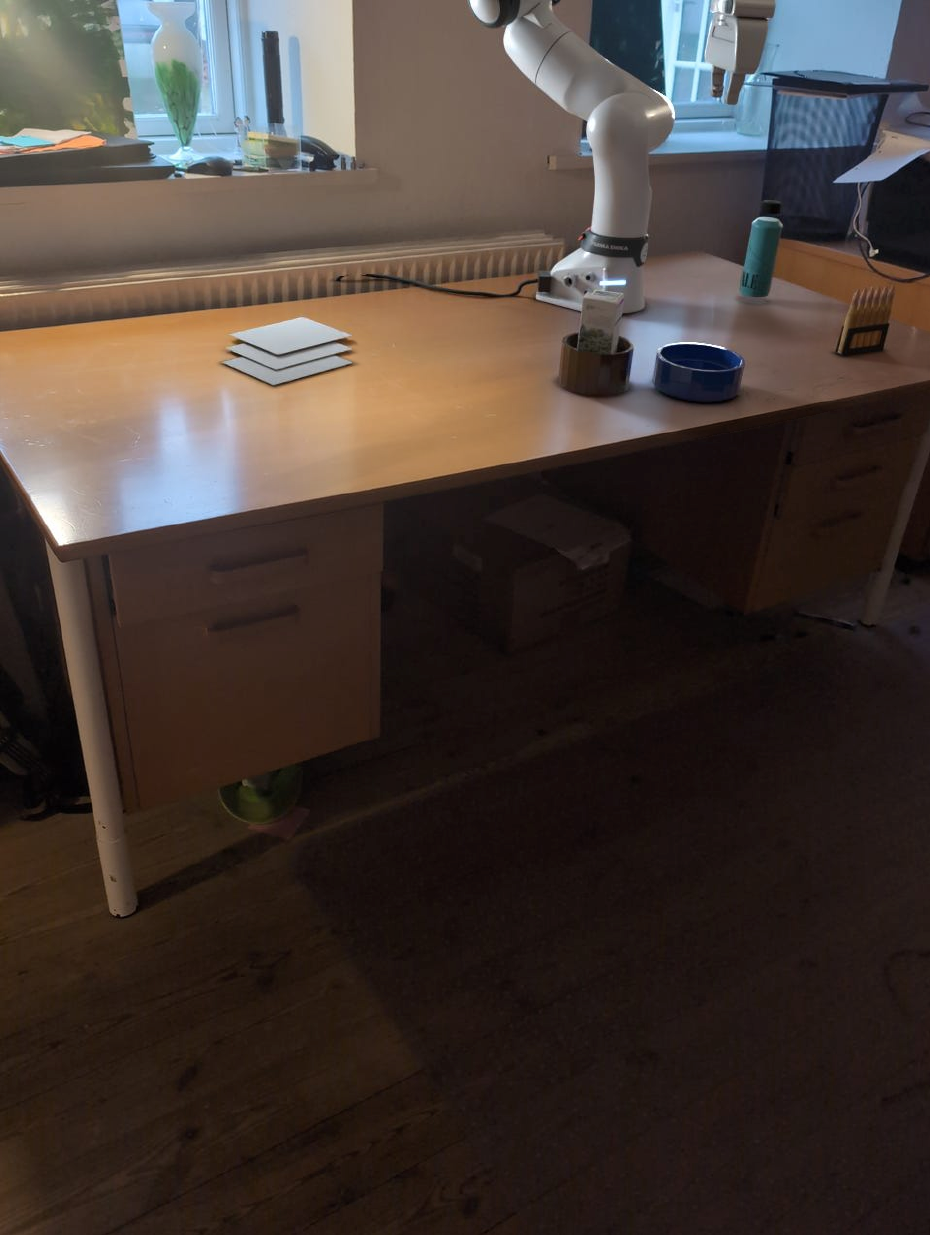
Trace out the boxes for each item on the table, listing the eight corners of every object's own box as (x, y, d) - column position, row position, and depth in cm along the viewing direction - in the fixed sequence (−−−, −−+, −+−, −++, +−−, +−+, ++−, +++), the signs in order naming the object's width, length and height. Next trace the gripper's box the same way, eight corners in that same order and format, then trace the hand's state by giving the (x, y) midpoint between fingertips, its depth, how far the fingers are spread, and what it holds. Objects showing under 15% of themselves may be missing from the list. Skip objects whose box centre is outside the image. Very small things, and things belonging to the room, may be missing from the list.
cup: (547, 387, 165) (551, 345, 161) (574, 367, 174) (579, 327, 170) (613, 402, 160) (618, 359, 157) (638, 381, 169) (644, 340, 165)
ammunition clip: (841, 356, 186) (858, 290, 179) (834, 353, 187) (850, 287, 180) (883, 350, 190) (901, 285, 183) (875, 347, 191) (893, 282, 185)
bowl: (640, 392, 165) (644, 359, 162) (667, 368, 175) (672, 337, 172) (724, 411, 159) (731, 377, 156) (748, 385, 170) (754, 353, 167)
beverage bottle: (770, 299, 216) (791, 200, 205) (764, 306, 211) (785, 205, 200) (740, 294, 218) (759, 196, 207) (733, 301, 213) (752, 201, 202)
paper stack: (388, 352, 175) (388, 348, 175) (273, 385, 159) (273, 381, 159) (303, 320, 188) (302, 316, 188) (188, 347, 172) (188, 343, 172)
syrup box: (614, 379, 168) (625, 291, 161) (606, 390, 164) (617, 301, 156) (580, 374, 170) (590, 286, 162) (572, 385, 165) (582, 296, 157)
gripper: (704, -3, 165) (689, 92, 173) (737, 2, 148) (719, 107, 156) (742, 0, 165) (725, 94, 173) (779, 5, 148) (759, 109, 156)
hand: (723, 100), depth 164 cm, fingers open, 8 cm apart
